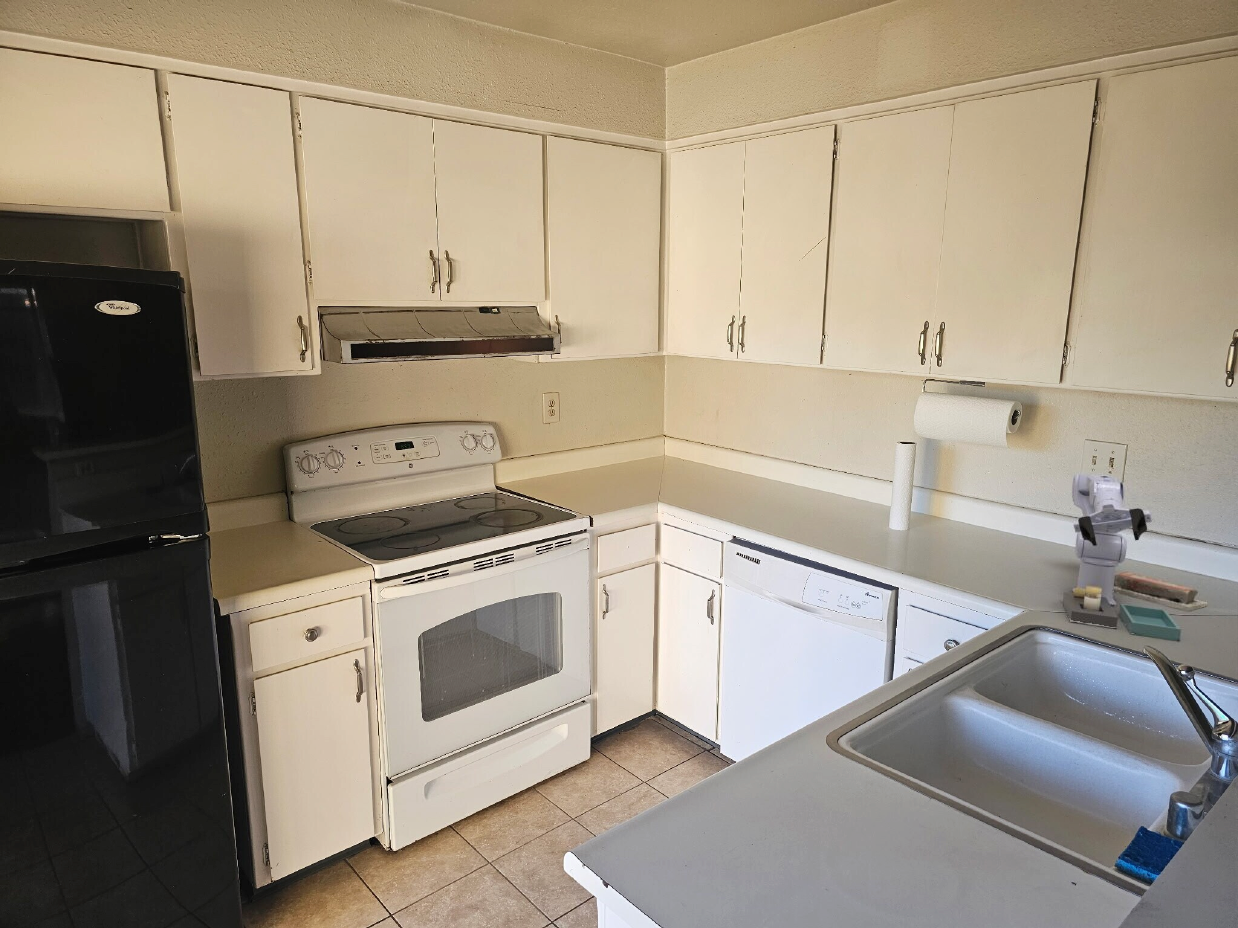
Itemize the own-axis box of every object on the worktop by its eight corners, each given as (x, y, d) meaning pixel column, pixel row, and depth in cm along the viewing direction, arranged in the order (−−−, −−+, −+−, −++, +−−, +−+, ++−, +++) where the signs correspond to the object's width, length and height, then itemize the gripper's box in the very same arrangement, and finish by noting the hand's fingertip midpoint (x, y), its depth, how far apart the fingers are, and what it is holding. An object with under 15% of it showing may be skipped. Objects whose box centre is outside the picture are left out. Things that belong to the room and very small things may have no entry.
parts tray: (1118, 614, 180) (1120, 603, 180) (1163, 621, 177) (1165, 609, 176) (1130, 633, 167) (1132, 622, 167) (1179, 641, 164) (1181, 629, 164)
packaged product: (1108, 573, 199) (1129, 568, 204) (1105, 592, 199) (1126, 587, 205) (1190, 593, 184) (1211, 587, 189) (1187, 613, 184) (1208, 608, 190)
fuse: (1081, 615, 178) (1085, 584, 177) (1096, 618, 177) (1100, 587, 176) (1082, 619, 175) (1086, 588, 174) (1098, 622, 174) (1103, 590, 173)
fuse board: (1062, 601, 188) (1064, 583, 187) (1104, 607, 184) (1107, 588, 184) (1070, 622, 173) (1073, 601, 172) (1116, 629, 170) (1119, 608, 169)
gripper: (1069, 500, 184) (1071, 527, 173) (1143, 488, 177) (1151, 516, 166) (1076, 528, 186) (1079, 556, 175) (1150, 517, 178) (1158, 546, 167)
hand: (1114, 538), depth 170 cm, fingers open, 7 cm apart
